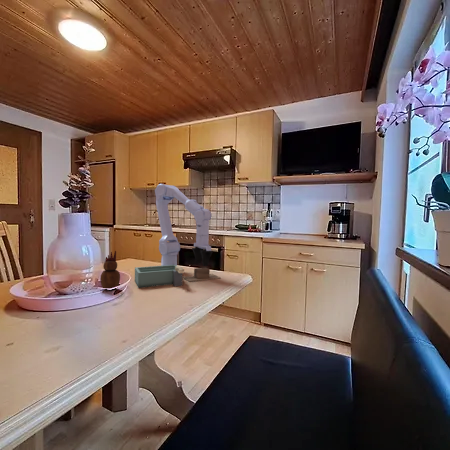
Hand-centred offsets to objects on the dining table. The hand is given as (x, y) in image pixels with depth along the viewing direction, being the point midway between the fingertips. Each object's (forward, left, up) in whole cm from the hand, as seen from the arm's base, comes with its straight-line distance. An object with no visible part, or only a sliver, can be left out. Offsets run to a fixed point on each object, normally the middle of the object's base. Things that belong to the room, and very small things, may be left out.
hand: (201, 264), depth 120 cm
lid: (0, 0, -7) cm, 7 cm away
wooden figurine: (+4, -39, -7) cm, 40 cm away
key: (+10, -13, 0) cm, 17 cm away
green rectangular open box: (+2, -20, -6) cm, 21 cm away
